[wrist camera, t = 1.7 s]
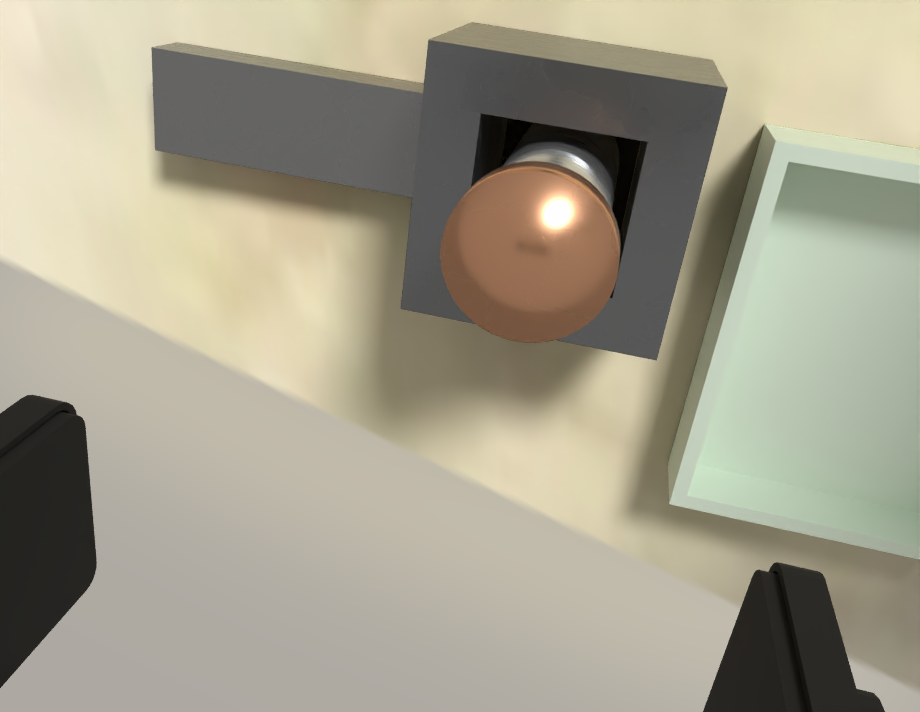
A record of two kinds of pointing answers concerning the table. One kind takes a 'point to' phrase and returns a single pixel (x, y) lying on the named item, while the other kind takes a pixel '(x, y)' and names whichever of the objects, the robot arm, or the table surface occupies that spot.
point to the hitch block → (465, 142)
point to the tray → (814, 350)
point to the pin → (537, 237)
